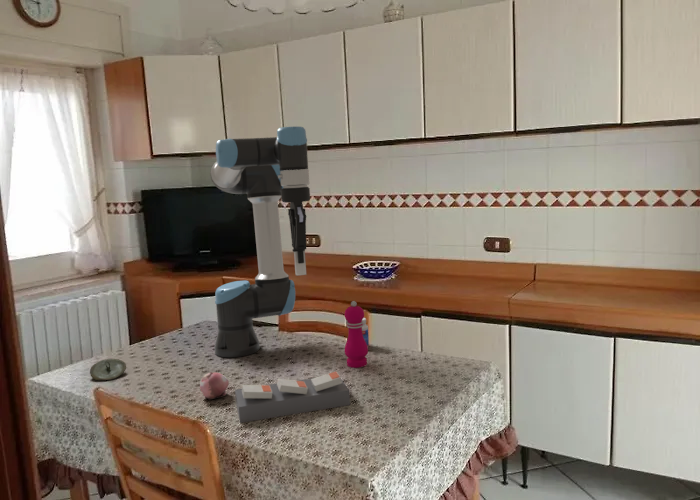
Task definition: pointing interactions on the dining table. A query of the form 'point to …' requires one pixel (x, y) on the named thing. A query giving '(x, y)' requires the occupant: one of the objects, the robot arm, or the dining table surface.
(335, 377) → the rocker
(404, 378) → the dining table surface
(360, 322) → the pepper mill
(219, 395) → the onion
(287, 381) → the rocker
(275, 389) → the switch panel
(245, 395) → the rocker
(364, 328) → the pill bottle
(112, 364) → the lid
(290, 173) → the robot arm
